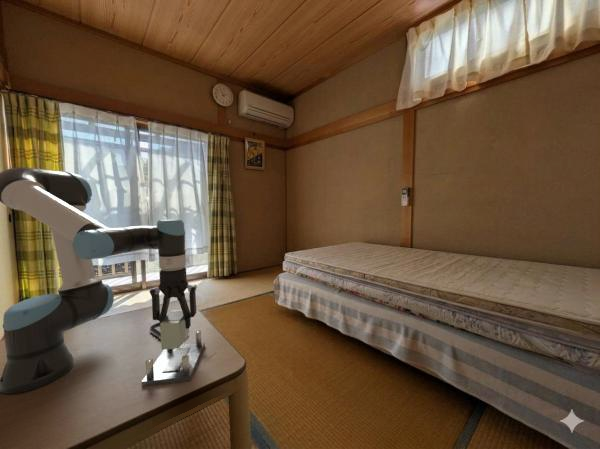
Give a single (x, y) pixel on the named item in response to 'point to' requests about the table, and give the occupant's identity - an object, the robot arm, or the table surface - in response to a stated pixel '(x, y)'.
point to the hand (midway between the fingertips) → (176, 338)
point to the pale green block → (172, 330)
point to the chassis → (174, 364)
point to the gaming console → (156, 330)
